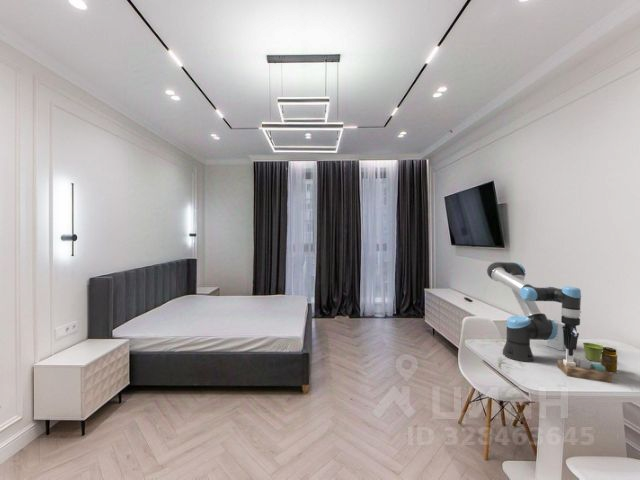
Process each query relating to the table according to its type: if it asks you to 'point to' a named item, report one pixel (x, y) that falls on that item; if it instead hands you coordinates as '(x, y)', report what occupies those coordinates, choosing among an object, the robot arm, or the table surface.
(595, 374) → the wooden tray
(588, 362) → the grey cube
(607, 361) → the condiment
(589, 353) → the plant pot
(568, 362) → the cream white cube
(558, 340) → the supplement box
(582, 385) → the table surface
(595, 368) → the teal cube
